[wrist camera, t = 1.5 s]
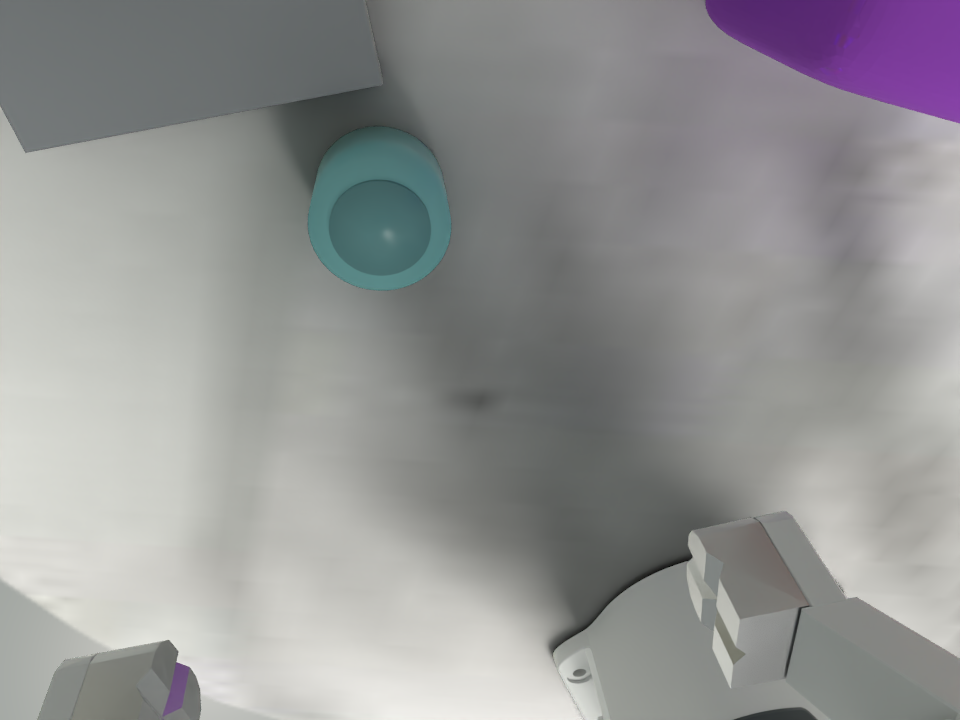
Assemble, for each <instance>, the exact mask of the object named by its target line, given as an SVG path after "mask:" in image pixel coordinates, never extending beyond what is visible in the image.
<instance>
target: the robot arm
mask: <svg viewBox="0 0 960 720" xmlns="http://www.w3.org/2000/svg"><path fill="white" fill-rule="evenodd" d="M688 547H689V549H690V551H691V553H692V556H693V558H692V559H691V560H690V561H686V562H683V563H680V564H677V565H674V566H671V567H668V568H666V569H663V570H661V571H659V572H656V573H654V574H652V575H650V576H648V577H646V578H644V579H642V580H641V581H639V582H637V583H636V584H634V585H632V586H631V587H629V588H628V589H626V590H625V591H624V592H622V593H621V594H620V595H619V596H617V597H616V598H615V599H614V600H613V601H612V602H611V603H610V604H609V605H608V606H607V607H606V608H605V609H604V610H603V611H602V613H601V614H600V615H599V616H598V617H597V618H596V620H595V621H594V622H593V623H592V624H591V625H590V626H589V627H588V628H587V629H585V630H583V631H582V632H580V633H578V634H577V635H575V636H573V637H572V638H570V639H568V640H567V641H565V642H564V643H562V644H561V645H560V646H559V647H557V648H556V650H555V651H554V653H553V658H554V661H555V664H556V667H557V670H558V672H559V674H560V676H561V678H562V680H563V681H564V683H565V685H566V687H567V689H568V691H569V692H570V694H571V696H572V698H573V700H574V701H575V703H576V705H577V707H578V709H579V711H580V712H581V714H582V716H583V718H584V720H960V658H958V657H956V656H955V655H953V654H951V653H950V652H948V651H946V650H945V649H943V648H941V647H940V646H938V645H936V644H935V643H933V642H931V641H930V640H928V639H926V638H925V637H923V636H921V635H920V634H918V633H916V632H915V631H913V630H911V629H909V628H908V627H906V626H904V625H903V624H901V623H899V622H898V621H896V620H894V619H893V618H891V617H889V616H888V615H886V614H884V613H883V612H881V611H879V610H878V609H876V608H874V607H873V606H871V605H869V604H868V603H866V602H864V601H863V600H861V599H859V598H858V597H854V598H848V599H847V597H846V595H845V594H844V593H843V592H842V590H841V589H840V587H839V585H838V584H837V582H836V581H835V579H834V578H833V576H832V575H831V573H830V572H829V570H828V569H827V567H826V566H825V564H824V563H823V561H822V560H821V558H820V557H819V555H818V554H817V552H816V551H815V549H814V548H813V546H812V545H811V543H810V542H809V540H808V539H807V537H806V536H805V534H804V532H803V531H802V529H801V528H800V526H799V525H798V523H797V522H796V520H795V519H794V517H793V516H792V515H791V514H789V513H788V512H786V511H781V512H777V513H772V514H768V515H763V516H759V517H755V518H751V517H749V518H745V519H740V520H736V521H731V522H727V523H723V524H718V525H714V526H709V527H705V528H700V529H696V530H691V532H690V534H689V537H688ZM177 656H178V650H177V649H176V648H175V647H174V645H173V644H172V643H171V642H170V640H165V641H160V642H155V643H150V644H144V645H139V646H134V647H128V648H123V649H118V650H113V651H107V652H102V653H96V654H91V655H86V656H81V657H76V658H72V659H67V660H64V661H63V662H62V663H61V665H60V666H59V667H58V668H57V670H56V671H55V673H54V675H53V678H52V681H51V684H50V686H49V689H48V692H47V694H46V697H45V700H44V703H43V705H42V708H41V711H40V713H39V716H38V719H37V720H199V718H200V712H201V700H200V688H199V685H198V681H197V678H196V676H195V674H194V673H193V671H192V670H191V668H190V667H188V666H185V665H182V664H180V663H177V662H176V661H177Z"/></svg>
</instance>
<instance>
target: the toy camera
mask: <svg viewBox="0 0 960 720" xmlns="http://www.w3.org/2000/svg"><path fill="white" fill-rule="evenodd" d="M706 9H707V12H708V14H709V16H710V18H711V19H712V21H713V22H714V23H715V24H716V25H717V26H718V27H719V28H720V29H721V30H722V31H724V32H725V33H726V34H728V35H729V36H731V37H733V38H734V39H736V40H738V41H739V42H741V43H743V44H745V45H747V46H749V47H751V48H753V49H755V50H757V51H759V52H761V53H763V54H765V55H767V56H769V57H771V58H773V59H775V60H777V61H779V62H781V63H783V64H785V65H787V66H789V67H791V68H793V69H795V70H797V71H799V72H801V73H803V74H805V75H807V76H810V77H812V78H814V79H817V80H819V81H821V82H823V83H826V84H828V85H831V86H834V87H836V88H839V89H842V90H845V91H848V92H851V93H855V94H858V95H861V96H865V97H868V98H872V99H875V100H878V101H882V102H885V103H889V104H892V105H896V106H899V107H903V108H907V109H910V110H914V111H917V112H921V113H925V114H928V115H932V116H935V117H939V118H942V119H946V120H950V121H953V122H957V123H960V0H706Z"/></svg>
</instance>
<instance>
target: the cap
mask: <svg viewBox="0 0 960 720" xmlns="http://www.w3.org/2000/svg"><path fill="white" fill-rule="evenodd" d="M308 232H309V236H310V241H311V243H312V246H313V248H314V251H315V252H316V254H317V256H318V258H319V259H320V260H321V262H322V263H323V264H324V265H325V266H326V267H327V268H328V269H329V270H330V271H331V272H332V273H333V274H334V275H336V276H337V277H339V278H340V279H342V280H343V281H345V282H347V283H349V284H352V285H354V286H357V287H360V288H364V289H369V290H378V291H380V290H394V289H399V288H403V287H406V286H409V285H411V284H414V283H416V282H417V281H419V280H421V279H422V278H424V277H425V276H427V275H428V274H429V273H430V272H431V271H432V270H434V268H435V267H436V266H437V265H438V264H439V262H440V261H441V259H442V258H443V256H444V254H445V252H446V250H447V248H448V244H449V241H450V236H451V217H450V211H449V205H448V200H447V195H446V190H445V184H444V179H443V175H442V171H441V169H440V166H439V164H438V162H437V160H436V158H435V157H434V155H433V154H432V153H431V151H430V150H429V149H428V148H427V147H426V146H425V145H424V144H423V143H422V142H421V141H419V140H418V139H417V138H415V137H414V136H412V135H410V134H409V133H406V132H404V131H401V130H398V129H395V128H391V127H384V126H373V127H365V128H361V129H357V130H355V131H352V132H350V133H348V134H346V135H344V136H343V137H341V138H340V139H339V140H337V141H336V142H335V143H334V144H333V145H332V146H331V147H330V148H329V149H328V151H327V152H326V153H325V155H324V157H323V159H322V161H321V162H320V165H319V168H318V172H317V176H316V181H315V185H314V190H313V194H312V199H311V203H310V208H309V213H308Z"/></svg>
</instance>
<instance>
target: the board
mask: <svg viewBox="0 0 960 720" xmlns="http://www.w3.org/2000/svg"><path fill="white" fill-rule="evenodd" d="M382 83H383V76H382V72H381V67H380V63H379V58H378V54H377V49H376V45H375V40H374V36H373V31H372V27H371V22H370V18H369V13H368V9H367V4H366V0H0V106H1V108H2V110H3V111H4V113H5V115H6V117H7V119H8V121H9V123H10V125H11V126H12V128H13V130H14V132H15V134H16V136H17V138H18V140H19V141H20V143H21V145H22V147H23V149H24V151H25V153H27V152H32V151H38V150H43V149H48V148H53V147H59V146H64V145H69V144H75V143H80V142H85V141H90V140H96V139H101V138H106V137H112V136H117V135H122V134H127V133H133V132H138V131H143V130H148V129H154V128H159V127H164V126H170V125H175V124H180V123H185V122H191V121H196V120H201V119H206V118H212V117H217V116H222V115H228V114H233V113H238V112H243V111H249V110H254V109H259V108H264V107H270V106H275V105H280V104H286V103H291V102H296V101H301V100H307V99H312V98H317V97H323V96H328V95H333V94H338V93H344V92H349V91H354V90H359V89H365V88H370V87H375V86H381V85H382Z"/></svg>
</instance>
